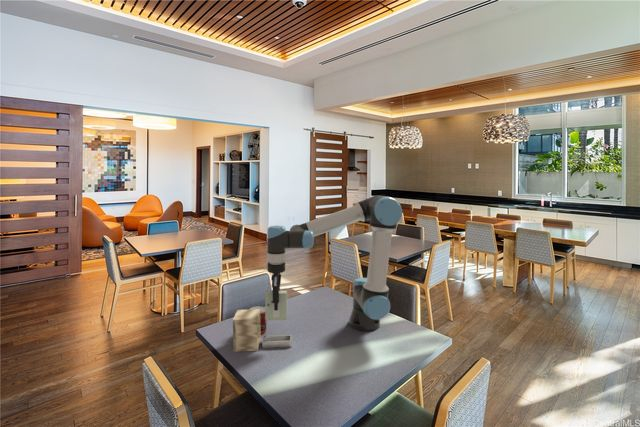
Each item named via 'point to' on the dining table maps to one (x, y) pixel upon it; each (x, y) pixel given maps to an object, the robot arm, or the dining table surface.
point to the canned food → (261, 319)
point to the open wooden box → (246, 330)
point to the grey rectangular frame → (277, 341)
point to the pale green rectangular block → (281, 305)
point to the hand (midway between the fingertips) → (276, 314)
